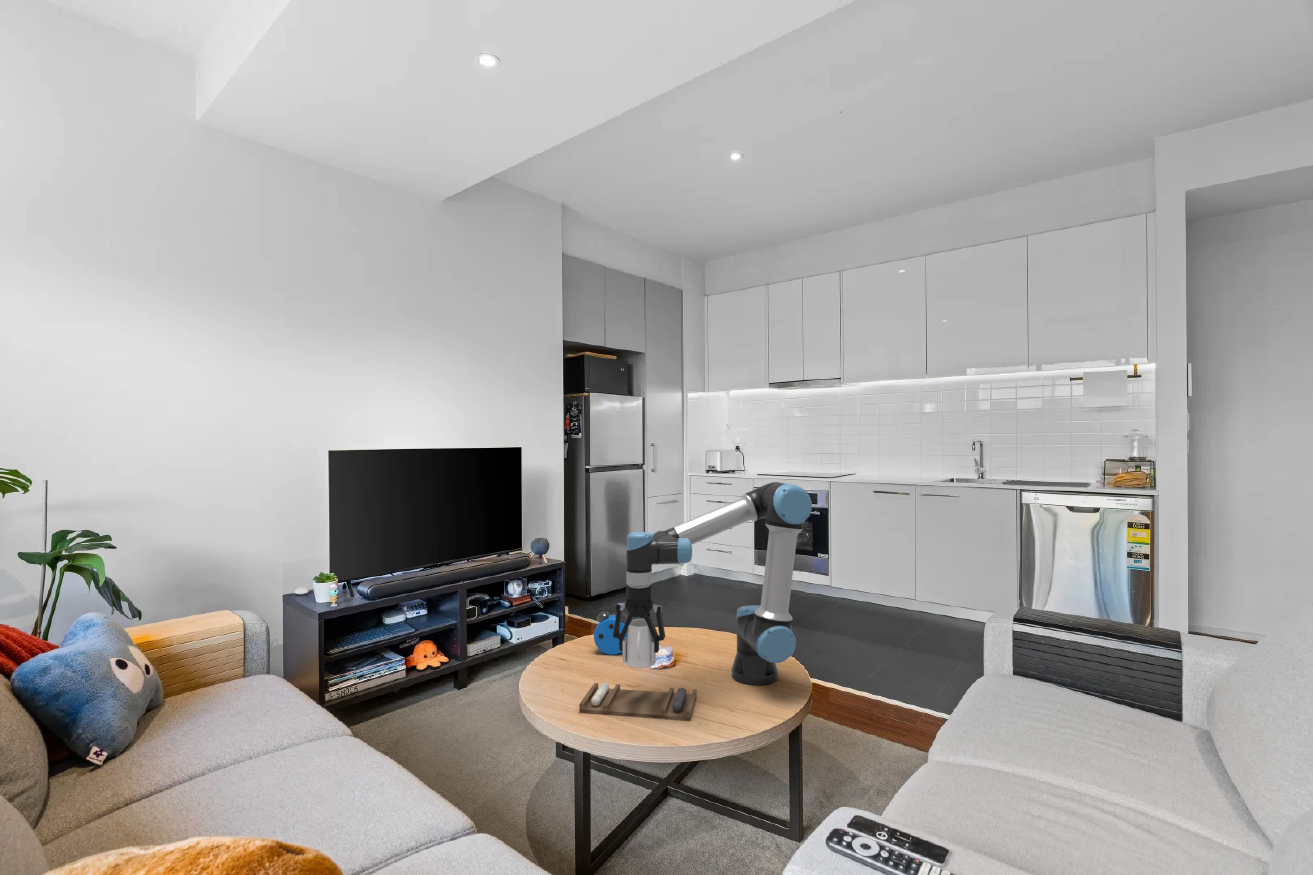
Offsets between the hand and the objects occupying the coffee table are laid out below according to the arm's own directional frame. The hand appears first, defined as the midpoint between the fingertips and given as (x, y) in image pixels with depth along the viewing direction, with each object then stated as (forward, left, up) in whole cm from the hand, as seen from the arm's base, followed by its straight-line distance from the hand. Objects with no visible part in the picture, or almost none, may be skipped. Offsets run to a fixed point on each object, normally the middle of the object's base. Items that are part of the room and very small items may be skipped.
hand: (639, 662), depth 184 cm
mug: (0, 0, -1) cm, 1 cm away
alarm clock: (+19, -43, -13) cm, 49 cm away
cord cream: (+12, 0, -12) cm, 17 cm away
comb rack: (0, 0, -13) cm, 13 cm away
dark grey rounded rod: (-12, 0, -12) cm, 17 cm away
